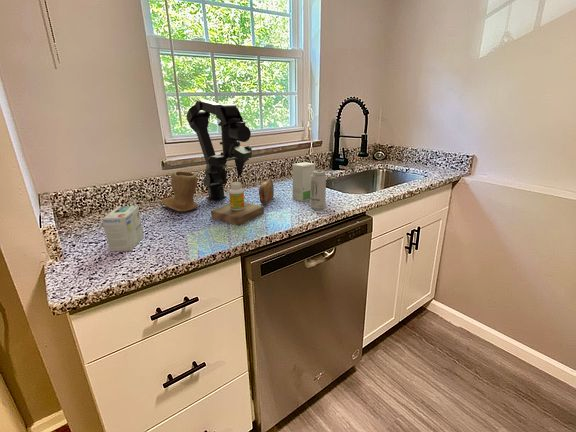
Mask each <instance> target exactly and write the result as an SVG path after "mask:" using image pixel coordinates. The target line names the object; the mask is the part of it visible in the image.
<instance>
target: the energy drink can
mask: <svg viewBox="0 0 576 432" xmlns="http://www.w3.org/2000/svg"><path fill="white" fill-rule="evenodd" d="M326 190H327V174H326V173H325V170H322V169H315V170H314V171H312V174H311V182H310V200H309V206H310V208H311V209H312V210H314V211H321V210H324V209H325V207H326Z"/></svg>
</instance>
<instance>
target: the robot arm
mask: <svg viewBox="0 0 576 432" xmlns="http://www.w3.org/2000/svg"><path fill="white" fill-rule="evenodd" d="M211 115H214V116H215V118H216V119H217V120H219V122H218V126H219V127H220V129H221V130H220V131H221V133H220V135H221V141H219V144H220V145H221V146H222V151H221V152H220V155H217V153H216V152H215V149H214V145H213V142H212V140H211V136H210V134H209V130H208V127H209V124H210V120H209V119H210V117H211ZM186 121H187V123H188V124H189V127H190V128H191V129H192V130H193V131H194V132H195V133H196V136H197V139H198V141H199V145H200V148H201V152H202V154H203V157H204V161H205V164H206V165H205V166H206V167H205V170H204V174H205V175H204V178H203V180H202V183H203V186H204V187H207V193H208V196H207V197H205V198H206V199H207V200H212V201H214V202H218V201H221V200H223V199H225V198H227V196H226V195H225V189H224V185H226V184H227V180H228V179H227V178H228V174H227V171H226V168H227V167H228V164H227V163H228V161H231V160H234V164H235V169H236V172H237V176H238V177H241V176H242V173H243V171H244V166H245V165H246V163H247V162H248V161H250V159H251V158H252V154H253V148H252V146H250V145H246V146H241V143H246V142H248V141H249V140H250V138H251V136H252V135H251V133H252V132H251V130H250V128H249V127H248V126H247V125H246V122H245V121H244V118H243V116H242V114H241V112H240V110H239V108H238V106H237V104H235V103H223V104H222V103H219V102H218V103H217V102H214V101H211V100H208V99H198V100H196V101H195V104H194V105H193V106H191V107H190V108H189V109H188V111H187V113H186Z"/></svg>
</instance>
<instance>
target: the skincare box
mask: <svg viewBox="0 0 576 432" xmlns="http://www.w3.org/2000/svg"><path fill="white" fill-rule="evenodd" d="M314 170H316V163H314V162H313V163H312V162H306V161H304V162H297V163H292V199H293V200H294V201H298V202H301V203H303V202H307V201H310V182H311V174H312V171H314Z"/></svg>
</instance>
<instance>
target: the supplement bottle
mask: <svg viewBox="0 0 576 432" xmlns="http://www.w3.org/2000/svg"><path fill="white" fill-rule="evenodd" d="M229 185H230V188H229V190H228V195H229V197H228V198H229V203H230V208H231V210H236V211H238V210H242V209H244V208H245V204H244V202H245V191H244V189H243V188H242V182H239V181H234V182H230V183H229Z"/></svg>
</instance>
